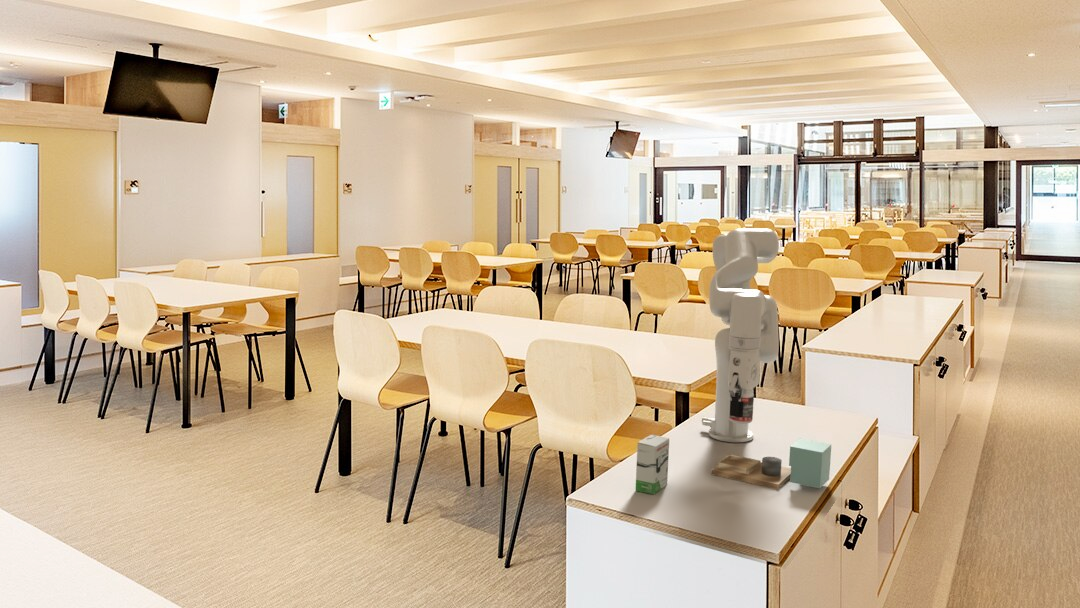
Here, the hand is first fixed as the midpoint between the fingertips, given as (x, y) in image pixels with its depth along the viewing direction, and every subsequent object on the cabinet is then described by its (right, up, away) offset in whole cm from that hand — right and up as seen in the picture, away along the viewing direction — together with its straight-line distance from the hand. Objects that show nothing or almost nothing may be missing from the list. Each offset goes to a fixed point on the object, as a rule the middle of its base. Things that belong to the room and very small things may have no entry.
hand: (741, 412), depth 209 cm
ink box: (-24, -17, -10) cm, 31 cm away
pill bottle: (0, -2, 0) cm, 2 cm away
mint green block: (+14, -15, -8) cm, 22 cm away
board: (+3, -15, 0) cm, 16 cm away
